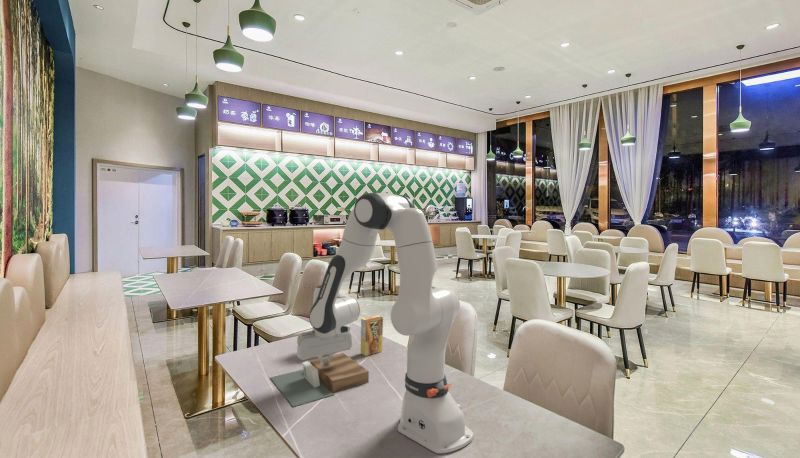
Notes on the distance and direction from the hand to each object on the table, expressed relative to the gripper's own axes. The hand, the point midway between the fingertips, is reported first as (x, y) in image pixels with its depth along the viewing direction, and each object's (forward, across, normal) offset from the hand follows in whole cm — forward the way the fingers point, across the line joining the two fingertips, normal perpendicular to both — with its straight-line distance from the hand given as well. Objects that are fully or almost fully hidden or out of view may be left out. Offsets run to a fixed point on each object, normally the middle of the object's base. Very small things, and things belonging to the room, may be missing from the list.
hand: (325, 365), depth 142 cm
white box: (+2, -4, 0) cm, 5 cm away
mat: (+5, -9, 0) cm, 11 cm away
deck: (+5, +5, 0) cm, 7 cm away
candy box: (+5, +27, +13) cm, 31 cm away
